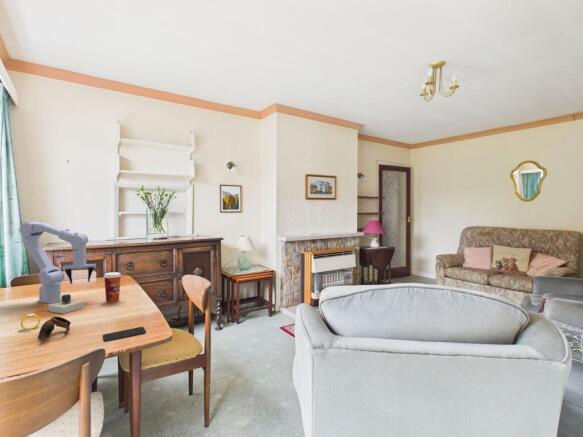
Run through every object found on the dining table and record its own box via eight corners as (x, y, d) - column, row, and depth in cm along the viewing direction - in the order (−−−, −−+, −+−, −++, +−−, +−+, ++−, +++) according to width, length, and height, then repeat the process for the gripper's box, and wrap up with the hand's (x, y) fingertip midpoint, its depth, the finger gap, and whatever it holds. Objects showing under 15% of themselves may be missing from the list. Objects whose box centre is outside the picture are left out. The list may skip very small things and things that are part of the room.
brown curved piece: (42, 333, 125) (55, 313, 127) (65, 342, 126) (77, 323, 129) (26, 337, 114) (40, 316, 116) (51, 347, 115) (64, 326, 117)
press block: (48, 311, 148) (48, 305, 148) (68, 304, 158) (68, 299, 158) (63, 313, 145) (63, 307, 145) (83, 307, 155) (83, 301, 155)
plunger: (59, 309, 150) (59, 295, 150) (67, 307, 154) (67, 293, 154) (65, 310, 149) (65, 296, 149) (72, 308, 153) (72, 294, 153)
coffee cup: (113, 303, 161) (113, 275, 161) (100, 302, 163) (99, 274, 162) (124, 299, 169) (124, 272, 169) (112, 297, 171) (112, 271, 170)
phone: (102, 334, 123) (143, 326, 132) (102, 336, 123) (143, 328, 132) (103, 341, 117) (146, 332, 126) (103, 343, 117) (146, 334, 126)
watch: (39, 326, 131) (40, 312, 131) (39, 328, 129) (40, 314, 129) (20, 328, 127) (22, 314, 127) (20, 330, 125) (21, 316, 125)
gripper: (62, 259, 155) (62, 285, 156) (95, 257, 163) (96, 282, 164) (63, 257, 161) (63, 282, 162) (95, 255, 169) (96, 279, 170)
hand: (80, 282), depth 163 cm, fingers open, 7 cm apart
